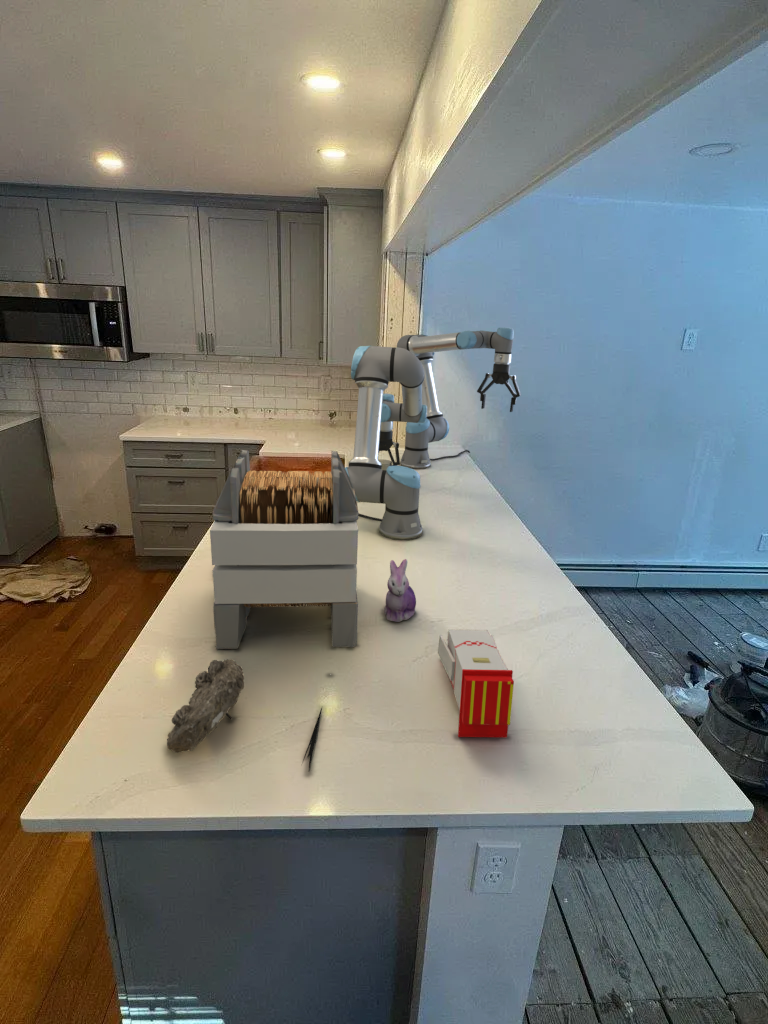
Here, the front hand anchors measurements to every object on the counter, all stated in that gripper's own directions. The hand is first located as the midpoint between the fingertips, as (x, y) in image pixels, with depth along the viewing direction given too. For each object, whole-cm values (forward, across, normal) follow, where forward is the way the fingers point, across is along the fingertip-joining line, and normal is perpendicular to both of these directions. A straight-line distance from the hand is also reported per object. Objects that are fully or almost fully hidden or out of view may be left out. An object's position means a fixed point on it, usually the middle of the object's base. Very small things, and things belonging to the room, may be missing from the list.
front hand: (382, 479), depth 255 cm
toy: (+2, -2, +147) cm, 147 cm away
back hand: (-30, -55, -14) cm, 64 cm away
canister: (+2, 0, 0) cm, 2 cm away
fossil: (+2, +50, +152) cm, 160 cm away
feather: (+2, +30, +154) cm, 157 cm away
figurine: (+2, +8, +115) cm, 116 cm away
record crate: (+2, +37, +113) cm, 119 cm away
